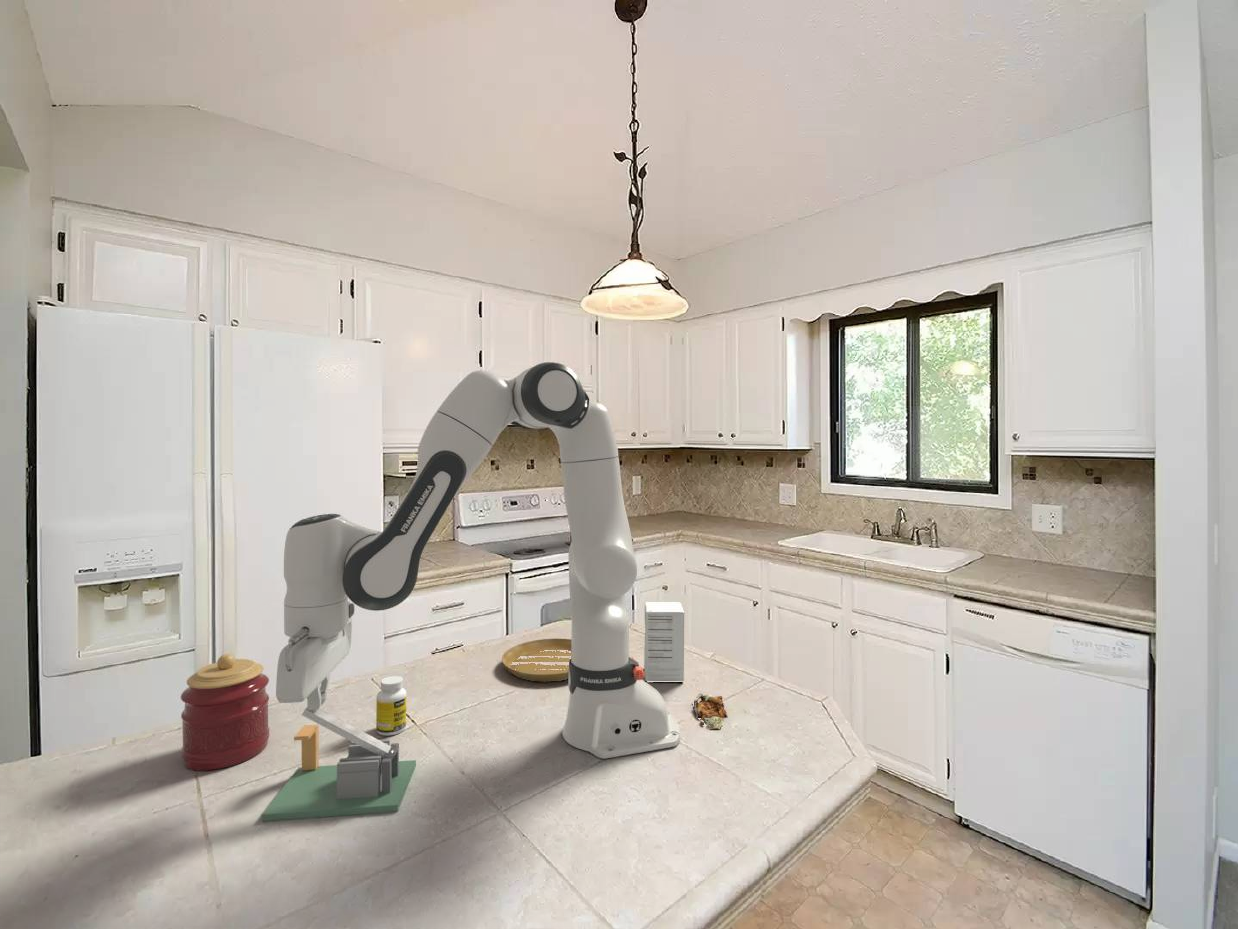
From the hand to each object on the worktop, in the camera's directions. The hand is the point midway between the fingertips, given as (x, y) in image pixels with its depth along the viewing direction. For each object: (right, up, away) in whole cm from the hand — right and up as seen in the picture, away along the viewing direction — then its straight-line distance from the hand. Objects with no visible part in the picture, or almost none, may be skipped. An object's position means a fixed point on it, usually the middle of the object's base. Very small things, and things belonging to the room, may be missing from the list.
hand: (317, 705), depth 90 cm
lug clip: (-4, -13, +4) cm, 14 cm away
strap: (+5, -5, +1) cm, 7 cm away
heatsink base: (+4, -14, +1) cm, 15 cm away
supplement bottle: (+3, -14, +21) cm, 25 cm away
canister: (-23, -14, +13) cm, 30 cm away
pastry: (+67, -14, +28) cm, 74 cm away
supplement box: (+58, -13, +48) cm, 77 cm away
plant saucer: (+30, -13, +54) cm, 63 cm away
